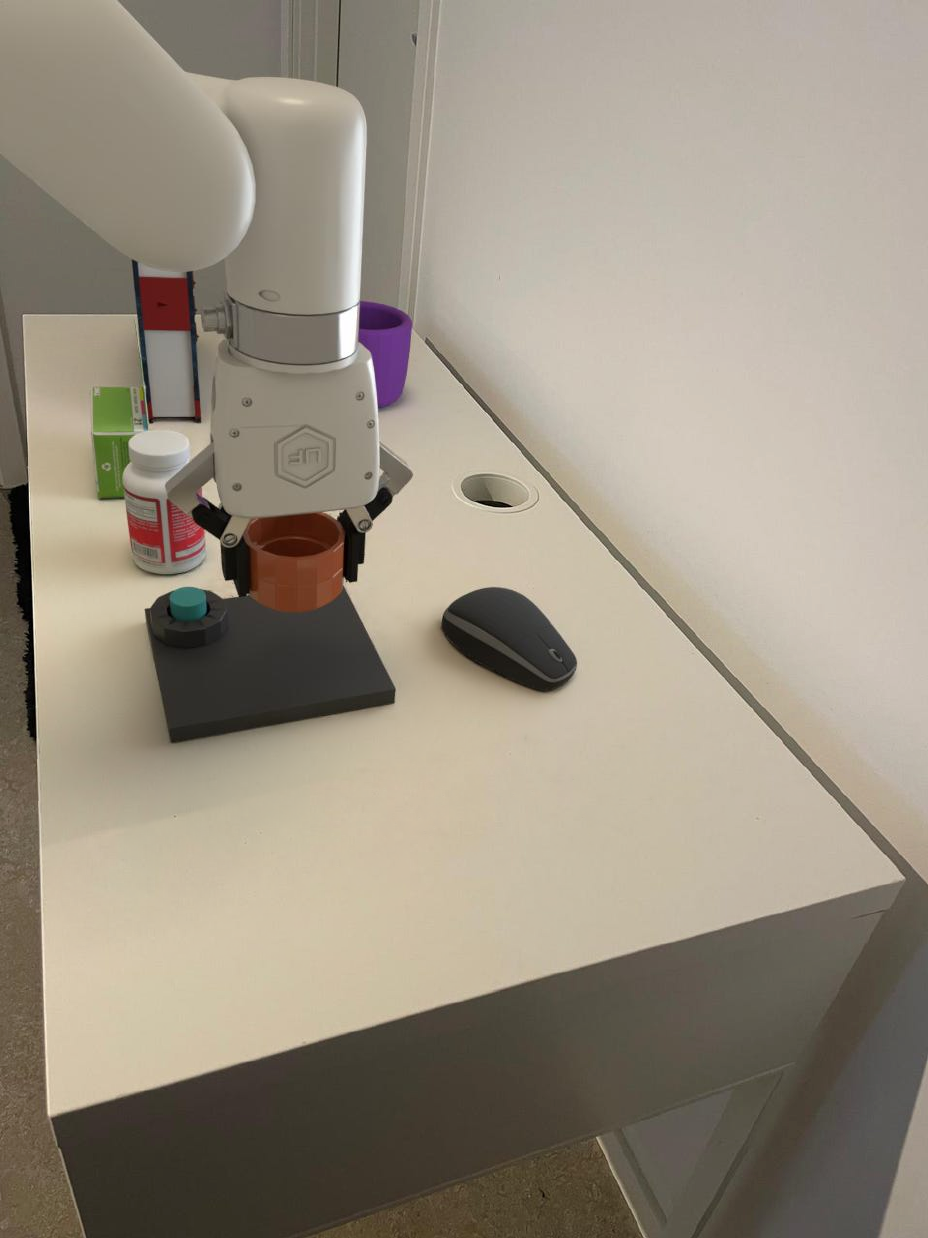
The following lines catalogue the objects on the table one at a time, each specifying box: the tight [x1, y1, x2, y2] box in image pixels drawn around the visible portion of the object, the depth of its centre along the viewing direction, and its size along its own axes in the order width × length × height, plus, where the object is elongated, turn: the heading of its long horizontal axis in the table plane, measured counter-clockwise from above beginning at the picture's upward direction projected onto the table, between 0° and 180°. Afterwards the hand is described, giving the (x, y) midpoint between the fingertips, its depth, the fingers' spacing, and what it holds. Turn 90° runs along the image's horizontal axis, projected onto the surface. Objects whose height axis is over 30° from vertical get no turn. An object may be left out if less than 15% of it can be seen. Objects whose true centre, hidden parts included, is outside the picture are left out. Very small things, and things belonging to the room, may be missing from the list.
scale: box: [144, 584, 397, 744], centre depth 68 cm, size 16×14×3 cm
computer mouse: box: [441, 586, 578, 691], centre depth 73 cm, size 7×12×4 cm, turn 49°
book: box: [131, 259, 202, 424], centre depth 102 cm, size 25×7×25 cm, turn 15°
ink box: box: [89, 317, 151, 500], centre depth 85 cm, size 10×5×14 cm, turn 18°
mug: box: [358, 300, 413, 409], centre depth 111 cm, size 17×11×10 cm, turn 24°
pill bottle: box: [122, 429, 207, 575], centre depth 75 cm, size 6×6×11 cm
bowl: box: [243, 512, 346, 613], centre depth 62 cm, size 7×7×5 cm
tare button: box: [170, 586, 207, 622], centre depth 68 cm, size 3×3×2 cm
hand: (294, 576), depth 63 cm, fingers closed on bowl, 6 cm apart
